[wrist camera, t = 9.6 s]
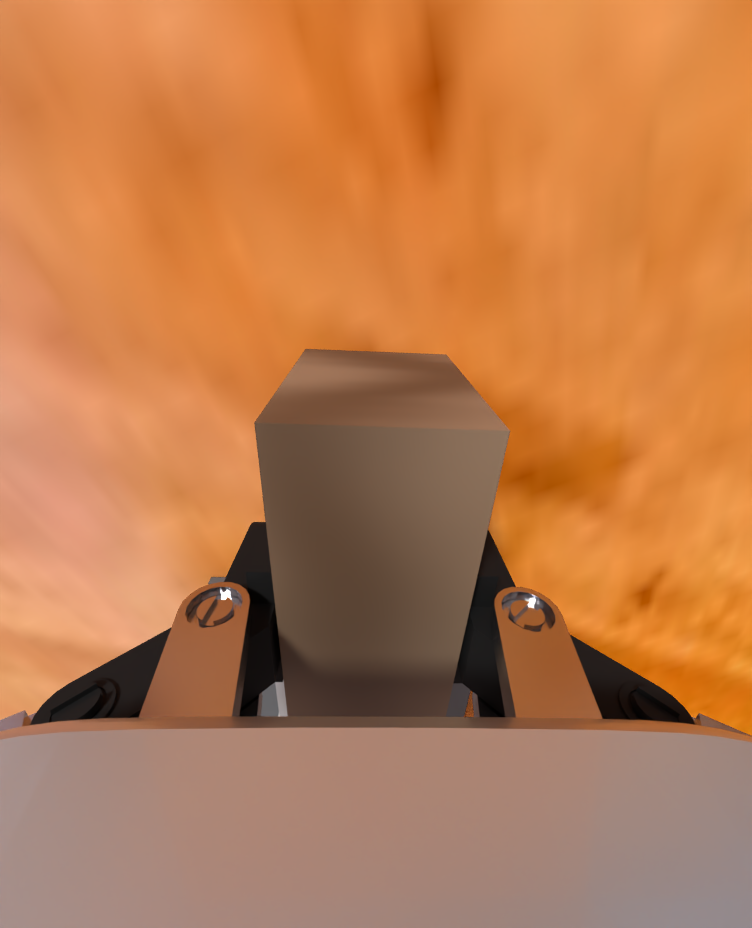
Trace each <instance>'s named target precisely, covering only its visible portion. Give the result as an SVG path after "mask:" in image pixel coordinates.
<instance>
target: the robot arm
mask: <svg viewBox="0 0 752 928" xmlns="http://www.w3.org/2000/svg"><path fill="white" fill-rule="evenodd" d="M275 682H283V670H282V662H281V653H280V644H279V635H278V626H277V617H276V608H275V600H274V591H273V582H272V573H271V564H270V555H269V546H268V538H267V529H266V522H253V523H252V524H251V525H250V527H249V529H248V531H247V534H246V536H245V538H244V540H243V542H242V544H241V546H240V548H239V551H238V553H237V555H236V557H235V559H234V561H233V563H232V565H231V568H230V570H229V572H228V574H227V576H226V578H225V580H224V582H218V583H213V584H209V585H206V586H204V587H201V588H199V589H197V590H196V591H194V592H193V593H191V594H190V595H189V596H188V597H187V598H186V599H185V600H184V601H183V602H182V604H181V606H180V607H179V609H178V612H177V614H176V617H175V620H174V622H173V625H172V627H171V628H170V629H168V630H166V631H164V632H162V633H160V634H159V635H157V636H155V637H153V638H151V639H150V640H148V641H146V642H144V643H142V644H140V645H139V646H137V647H135V648H133V649H131V650H129V651H128V652H126V653H124V654H122V655H120V656H118V657H117V658H115V659H113V660H111V661H109V662H107V663H106V664H104V665H102V666H100V667H98V668H96V669H95V670H93V671H91V672H89V673H87V674H86V675H84V676H82V677H80V678H78V679H76V680H75V681H73V682H71V683H69V684H68V685H66V686H65V687H63V688H62V689H60V690H59V691H57V692H56V693H55V694H53V695H52V696H51V697H50V698H49V699H48V700H47V701H46V702H45V703H44V704H43V705H42V706H41V707H40V709H39V710H38V711H37V713H34V714H32V715H29V716H28V715H27V713H26V711H22V712H20V713H17V714H15V715H12V716H10V717H7V718H5V719H2V720H0V928H752V736H750V735H748V734H746V733H743V732H741V731H739V730H737V729H734V728H732V727H730V726H727V725H725V724H723V723H720V722H718V721H716V720H713V719H711V718H709V717H707V716H704V715H702V714H700V713H699V714H698V716H697V717H696V719H695V718H693V717H691V716H690V714H689V713H688V712H687V710H686V709H685V708H684V706H683V705H681V704H680V703H679V702H678V701H677V700H676V699H675V698H674V697H673V696H672V695H670V694H669V693H668V692H666V691H665V690H663V689H662V688H660V687H659V686H657V685H655V684H654V683H652V682H650V681H648V680H647V679H645V678H643V677H642V676H640V675H638V674H636V673H635V672H633V671H631V670H630V669H628V668H626V667H624V666H623V665H621V664H619V663H618V662H616V661H614V660H612V659H611V658H609V657H607V656H606V655H604V654H602V653H600V652H599V651H597V650H595V649H594V648H592V647H590V646H589V645H587V644H585V643H583V642H582V641H580V640H578V639H577V638H575V637H573V636H571V635H570V634H569V631H568V629H567V626H566V624H565V621H564V619H563V616H562V614H561V612H560V611H559V609H558V607H557V606H556V605H555V604H554V603H553V602H552V601H551V600H550V599H548V598H547V597H545V596H544V595H542V594H541V593H539V592H536V591H534V590H532V589H527V588H523V587H516V586H515V584H514V582H513V580H512V578H511V576H510V574H509V572H508V570H507V568H506V566H505V563H504V561H503V559H502V557H501V555H500V553H499V551H498V549H497V547H496V545H495V543H494V541H493V539H492V536H491V534H490V532H489V531H487V535H486V540H485V544H484V549H483V553H482V558H481V562H480V567H479V571H478V575H477V580H476V584H475V589H474V593H473V598H472V602H471V607H470V611H469V615H468V620H467V624H466V629H465V633H464V638H463V642H462V647H461V651H460V655H459V660H458V664H457V669H456V673H455V678H454V682H453V683H462V684H464V685H465V686H466V687H467V688H469V689H470V690H471V691H473V696H472V700H473V710H474V717H346V716H261V710H262V699H263V696H262V692H263V691H264V690H266V689H267V688H268V687H269V686H271V685H272V684H273V683H275Z"/></svg>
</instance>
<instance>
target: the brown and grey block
mask: <svg viewBox="0 0 752 928" xmlns="http://www.w3.org/2000/svg"><path fill="white" fill-rule="evenodd" d="M255 431H256V440H257V449H258V458H259V467H260V476H261V484H262V493H263V502H264V511H265V520H266V529H267V538H268V546H269V555H270V564H271V573H272V582H273V591H274V600H275V608H276V617H277V626H278V635H279V644H280V653H281V662H282V670H283V682H275V685H276V693H277V700H278V708H279V716H346V717H446V713H447V709H448V704H449V700H450V696H451V691H452V687H453V682H454V678H455V673H456V669H457V664H458V660H459V655H460V651H461V647H462V642H463V638H464V633H465V629H466V624H467V620H468V615H469V611H470V607H471V602H472V598H473V593H474V589H475V584H476V580H477V575H478V571H479V567H480V562H481V558H482V553H483V549H484V544H485V540H486V535H487V531H488V527H489V522H490V518H491V513H492V509H493V504H494V500H495V495H496V491H497V487H498V482H499V478H500V473H501V469H502V464H503V460H504V455H505V451H506V447H507V442H508V438H509V433H510V430H509V429H508V428H507V427H506V426H505V424H504V423H503V422H502V421H501V420H500V418H499V417H498V416H497V415H496V414H495V412H494V411H493V410H492V409H491V408H490V406H489V405H488V404H487V403H486V402H485V400H484V399H483V398H482V397H481V396H480V394H479V393H478V392H477V391H476V390H475V388H474V387H473V386H472V385H471V384H470V383H469V381H468V380H467V379H466V378H465V377H464V375H463V374H462V373H461V372H460V371H459V369H458V368H457V367H456V366H455V365H454V363H453V362H452V361H451V360H450V359H449V357H448V356H447V355H442V354H417V353H393V352H368V351H343V350H318V349H305V351H304V352H303V354H302V355H301V357H300V358H299V359H298V361H297V362H296V364H295V365H294V367H293V368H292V370H291V371H290V372H289V374H288V375H287V377H286V378H285V380H284V381H283V382H282V384H281V385H280V387H279V388H278V390H277V391H276V392H275V394H274V395H273V397H272V398H271V400H270V401H269V403H268V404H267V405H266V407H265V408H264V410H263V411H262V413H261V414H260V415H259V417H258V418H257V420H256V421H255Z"/></svg>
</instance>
